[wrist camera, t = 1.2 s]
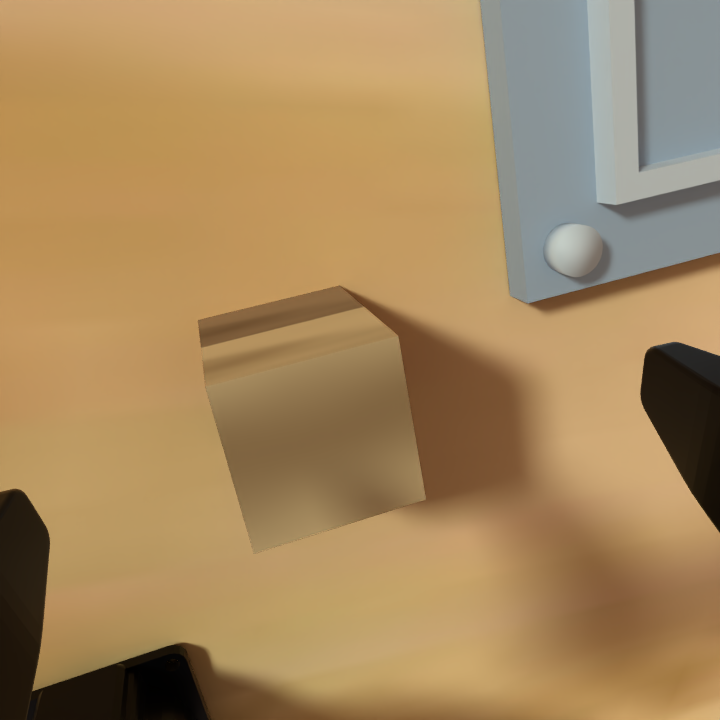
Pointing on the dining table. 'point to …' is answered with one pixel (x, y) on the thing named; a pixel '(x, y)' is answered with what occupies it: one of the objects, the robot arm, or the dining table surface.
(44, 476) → the dining table surface
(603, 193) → the board
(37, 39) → the dining table surface
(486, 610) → the dining table surface
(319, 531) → the block
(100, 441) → the dining table surface
